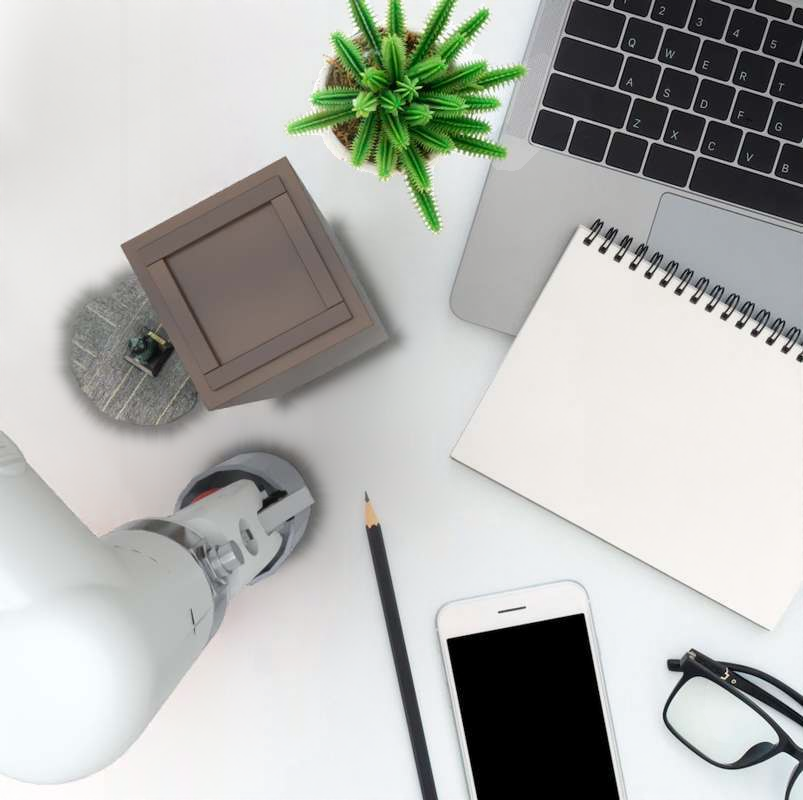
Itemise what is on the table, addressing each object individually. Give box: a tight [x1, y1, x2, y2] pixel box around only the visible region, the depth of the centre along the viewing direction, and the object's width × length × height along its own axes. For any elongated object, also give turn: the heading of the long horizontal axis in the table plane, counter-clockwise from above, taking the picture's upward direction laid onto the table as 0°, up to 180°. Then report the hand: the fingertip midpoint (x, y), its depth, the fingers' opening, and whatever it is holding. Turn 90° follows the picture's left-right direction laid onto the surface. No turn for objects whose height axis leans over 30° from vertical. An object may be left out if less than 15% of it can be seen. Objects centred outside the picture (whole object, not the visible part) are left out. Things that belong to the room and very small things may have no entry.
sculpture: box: [70, 277, 198, 426], centre depth 69 cm, size 12×9×8 cm
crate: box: [119, 155, 390, 412], centre depth 56 cm, size 10×10×24 cm
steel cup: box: [172, 451, 312, 587], centre depth 65 cm, size 9×9×9 cm
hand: (227, 527), depth 59 cm, fingers closed on apple, 5 cm apart
